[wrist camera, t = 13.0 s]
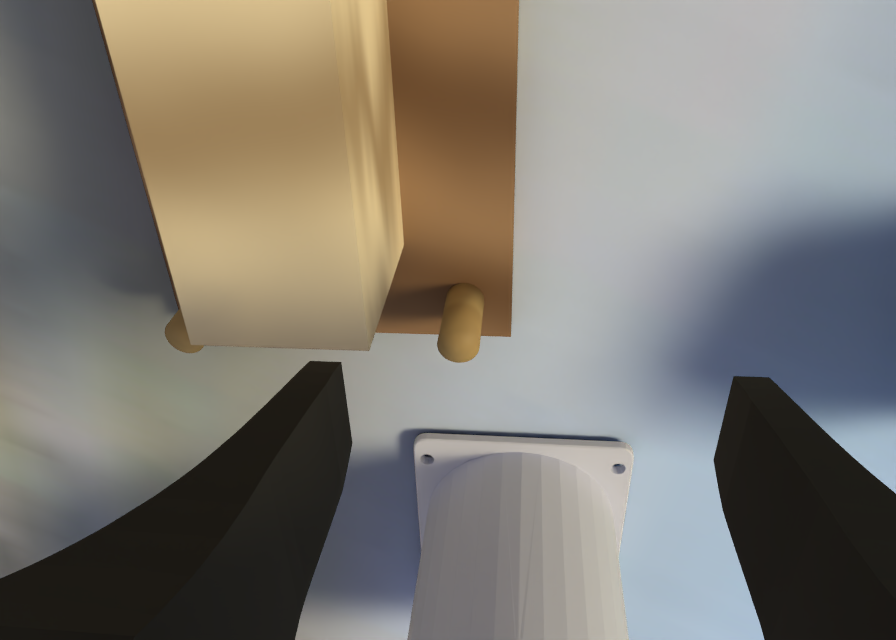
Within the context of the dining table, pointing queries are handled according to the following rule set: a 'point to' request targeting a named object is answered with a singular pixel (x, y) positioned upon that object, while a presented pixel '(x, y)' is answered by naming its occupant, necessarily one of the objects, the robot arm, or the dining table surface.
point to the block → (266, 162)
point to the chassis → (443, 172)
